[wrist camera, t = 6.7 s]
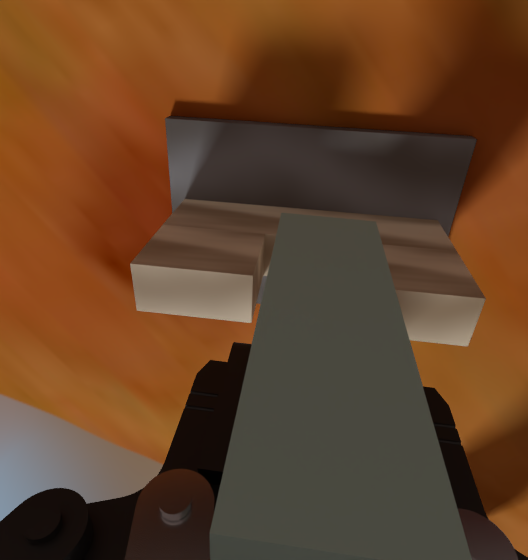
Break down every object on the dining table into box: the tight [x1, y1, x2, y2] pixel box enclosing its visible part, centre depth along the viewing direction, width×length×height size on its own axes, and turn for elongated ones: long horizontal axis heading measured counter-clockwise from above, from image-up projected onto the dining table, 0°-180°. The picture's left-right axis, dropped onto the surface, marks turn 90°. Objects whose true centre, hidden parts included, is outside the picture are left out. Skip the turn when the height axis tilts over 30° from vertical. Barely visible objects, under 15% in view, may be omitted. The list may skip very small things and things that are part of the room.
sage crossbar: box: [209, 213, 472, 560], centre depth 13 cm, size 14×3×10 cm, turn 177°
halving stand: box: [130, 116, 486, 346], centre depth 27 cm, size 14×20×11 cm
